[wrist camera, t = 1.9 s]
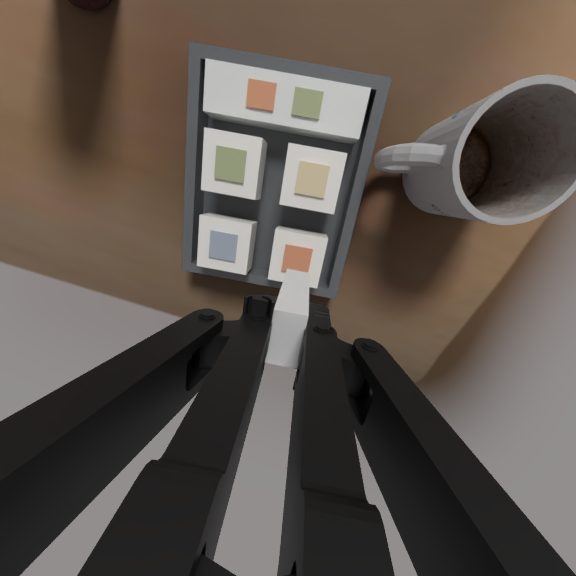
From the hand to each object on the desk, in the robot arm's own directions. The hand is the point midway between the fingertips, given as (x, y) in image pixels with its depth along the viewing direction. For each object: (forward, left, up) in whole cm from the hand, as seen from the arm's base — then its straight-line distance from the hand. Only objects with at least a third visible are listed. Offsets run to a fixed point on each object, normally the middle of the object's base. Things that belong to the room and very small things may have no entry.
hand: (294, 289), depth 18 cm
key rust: (0, 0, -11) cm, 11 cm away
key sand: (0, +7, -11) cm, 13 cm away
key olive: (-7, +7, -11) cm, 15 cm away
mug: (+11, +11, -14) cm, 20 cm away
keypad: (-4, +6, -13) cm, 15 cm away
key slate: (-7, 0, -11) cm, 13 cm away
